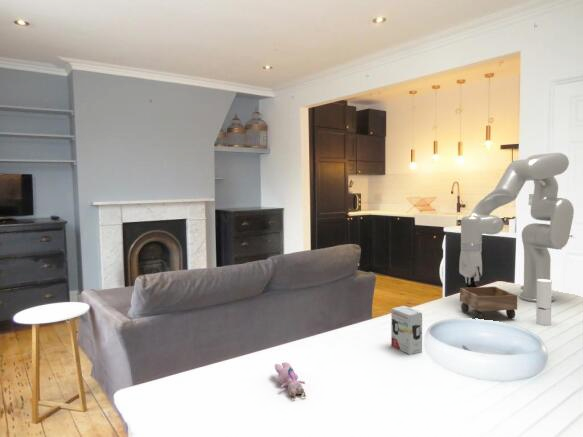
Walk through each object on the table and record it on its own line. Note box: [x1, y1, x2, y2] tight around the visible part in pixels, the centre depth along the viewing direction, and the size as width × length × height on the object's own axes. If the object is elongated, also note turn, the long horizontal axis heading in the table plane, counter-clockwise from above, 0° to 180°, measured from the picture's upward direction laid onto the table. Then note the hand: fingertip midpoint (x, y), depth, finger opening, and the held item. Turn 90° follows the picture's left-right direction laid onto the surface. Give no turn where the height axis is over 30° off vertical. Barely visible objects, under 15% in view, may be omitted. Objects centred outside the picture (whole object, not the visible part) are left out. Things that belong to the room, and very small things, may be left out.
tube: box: [535, 279, 553, 326], centre depth 144 cm, size 4×4×15 cm
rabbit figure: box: [274, 361, 307, 400], centre depth 102 cm, size 6×6×15 cm
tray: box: [459, 286, 518, 320], centre depth 154 cm, size 14×14×9 cm
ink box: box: [390, 305, 423, 355], centre depth 124 cm, size 9×5×12 cm, turn 25°
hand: (470, 293), depth 166 cm, fingers closed
